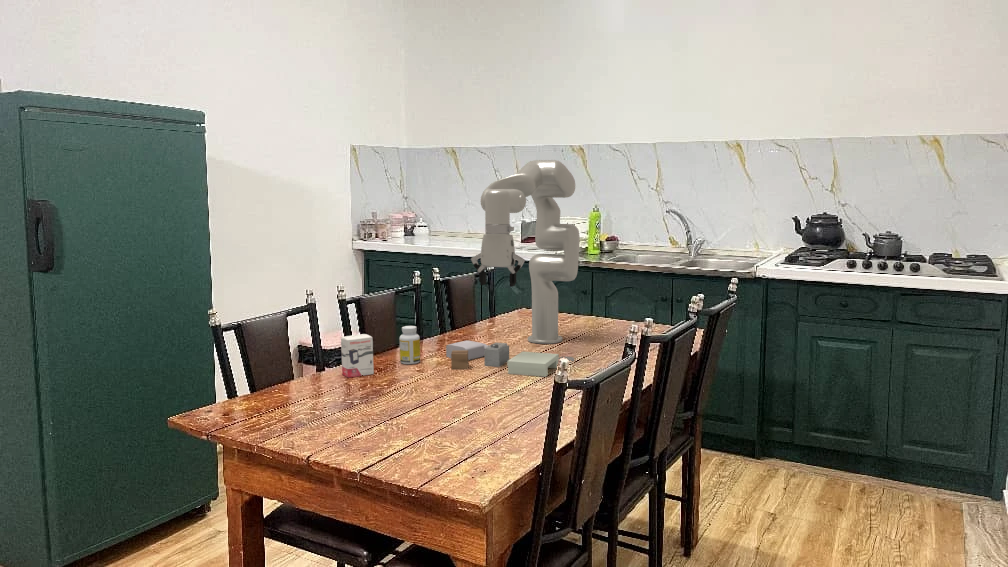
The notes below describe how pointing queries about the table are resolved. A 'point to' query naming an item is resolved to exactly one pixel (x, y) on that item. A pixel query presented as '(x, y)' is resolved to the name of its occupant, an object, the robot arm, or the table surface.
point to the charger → (473, 349)
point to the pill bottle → (409, 345)
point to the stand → (532, 363)
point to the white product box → (357, 355)
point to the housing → (496, 354)
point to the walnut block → (459, 359)
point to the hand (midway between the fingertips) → (497, 285)
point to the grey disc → (569, 358)
